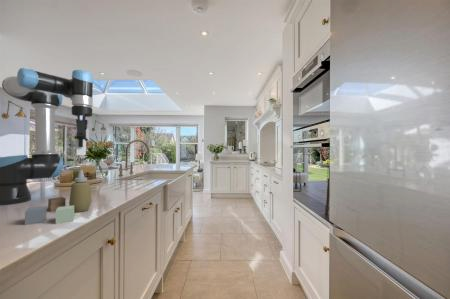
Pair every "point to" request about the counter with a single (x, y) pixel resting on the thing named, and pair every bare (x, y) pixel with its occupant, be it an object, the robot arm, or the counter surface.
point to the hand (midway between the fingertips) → (81, 154)
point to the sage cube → (64, 214)
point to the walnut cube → (56, 203)
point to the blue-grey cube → (35, 215)
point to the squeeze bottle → (80, 193)
